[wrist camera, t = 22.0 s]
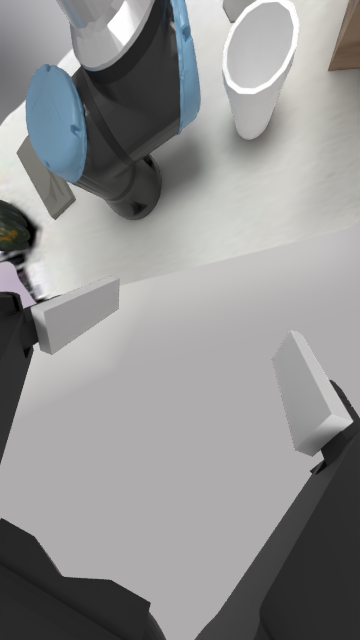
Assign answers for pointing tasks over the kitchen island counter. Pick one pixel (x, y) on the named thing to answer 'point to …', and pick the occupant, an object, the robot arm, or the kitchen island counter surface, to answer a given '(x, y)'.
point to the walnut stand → (348, 40)
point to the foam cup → (258, 62)
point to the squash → (12, 229)
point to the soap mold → (45, 181)
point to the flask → (236, 7)
